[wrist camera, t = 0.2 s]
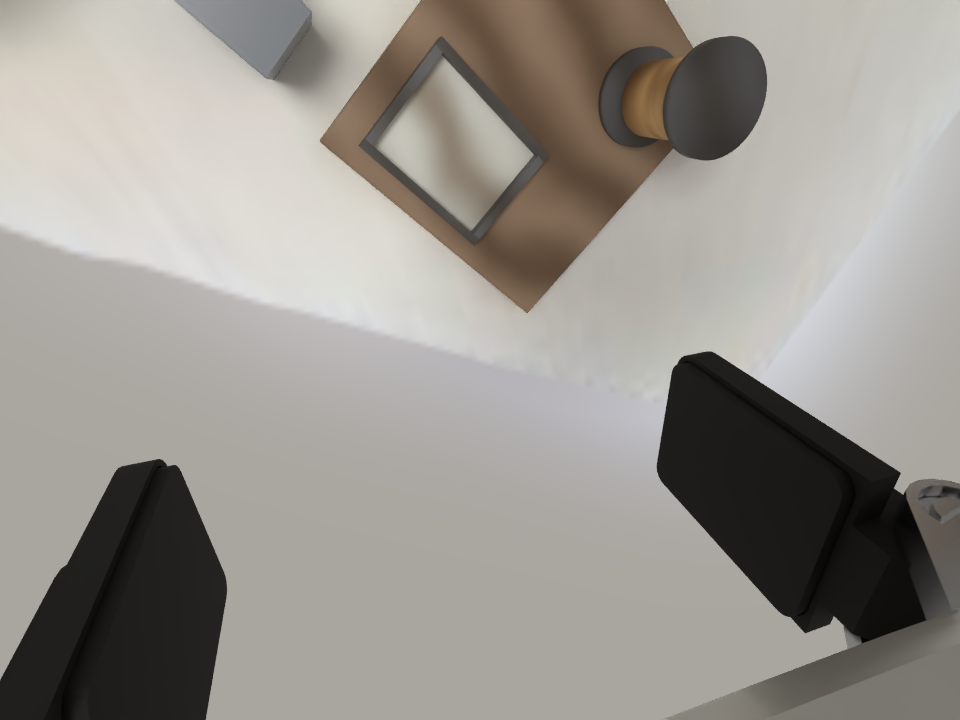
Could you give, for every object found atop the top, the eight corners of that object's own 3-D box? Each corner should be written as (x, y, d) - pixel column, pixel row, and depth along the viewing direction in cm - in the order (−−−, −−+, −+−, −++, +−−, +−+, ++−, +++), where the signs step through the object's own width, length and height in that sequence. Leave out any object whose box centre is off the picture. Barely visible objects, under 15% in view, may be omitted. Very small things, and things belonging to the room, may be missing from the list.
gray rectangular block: (214, -68, 27) (192, -104, 22) (311, 24, 30) (311, 11, 25) (175, -4, 28) (145, -25, 23) (273, 80, 31) (265, 78, 26)
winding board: (544, -170, 29) (640, -276, 21) (707, 93, 39) (817, 95, 31) (320, 140, 33) (323, 158, 25) (520, 306, 43) (572, 360, 35)
